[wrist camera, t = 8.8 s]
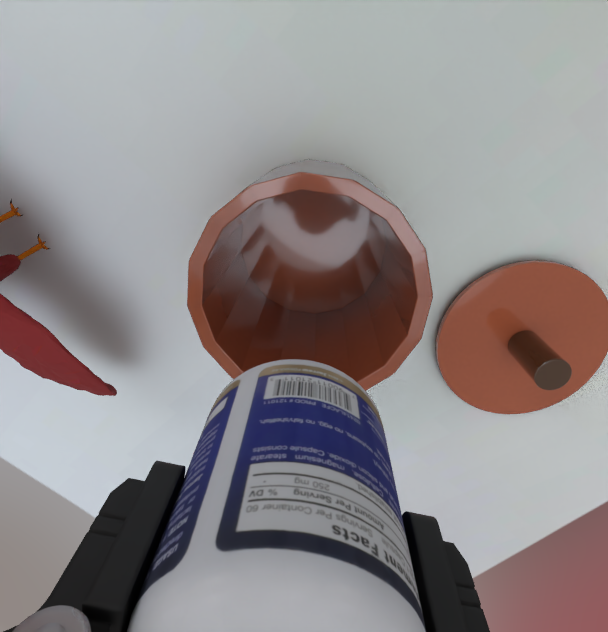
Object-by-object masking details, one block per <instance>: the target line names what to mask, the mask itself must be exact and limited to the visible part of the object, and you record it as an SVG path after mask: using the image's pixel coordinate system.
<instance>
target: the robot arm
mask: <svg viewBox="0 0 608 632" xmlns="http://www.w3.org/2000/svg"><path fill="white" fill-rule="evenodd" d="M184 476H185V466H181V465H176V464H171V463H166V462H161V461H156V462H155V463H154V465H153V466H152V468H151V470H150V472H149V474H148V476H147V478H146V480H145V481H141V480H136V479H131V478H128V479H127V480H126V481H125V482H123V483H122V484H121V485H120V486H118V487H117V488H116V489H115V490H113V491H112V492H111V493H110V495H109V496H108V498H107V500H106V502H105V503H104V505H103V507H102V508H101V510H100V512H99V515H98V516H97V517H96V518H95V521H94V522H93V524H92V525H91V527H90V530H89V532H88V533H87V534H86V535H85V537H84V539H83V541H82V542H81V544H80V545H79V547H78V549H77V551H76V552H75V554H74V556H73V557H72V559H71V561H70V562H69V564H68V566H67V568H66V569H65V571H64V573H63V574H62V576H61V578H60V579H59V581H58V583H57V584H56V586H55V588H54V590H53V591H52V593H51V595H50V596H49V597H48V599H47V601H46V602H45V603H44V604H43V605H42V606H41V608H40V609H39V610H38V611H37V612H35V613H34V614H32V615H31V616H29V617H28V618H26V619H25V620H24V621H23V622H21V623H20V624H19V625H17V626H15V627H13V628H11V629H9V630H6V631H4V632H127V629H128V626H129V622H130V617H131V614H132V611H133V609H134V606H135V604H136V601H137V599H138V596H139V593H140V590H141V588H142V585H143V583H144V580H145V577H146V575H147V572H148V570H149V567H150V565H151V562H152V560H153V557H154V555H155V552H156V549H157V547H158V544H159V542H160V539H161V536H162V533H163V531H164V529H165V526H166V524H167V521H168V519H169V516H170V514H171V511H172V509H173V506H174V503H175V501H176V498H177V496H178V493H179V491H180V488H181V486H182V483H183V481H184ZM402 520H403V525H404V529H405V534H406V539H407V544H408V548H409V553H410V557H411V562H412V567H413V572H414V577H415V582H416V586H417V590H418V595H419V600H420V604H421V609H422V613H423V618H424V623H425V629H426V632H490V631H489V628H488V625H487V621H486V618H485V615H484V612H483V609H481V607H480V605H481V603H480V600H479V597H478V594H477V591H476V590H475V589H474V586H475V585H474V582H473V579H472V576H471V573H470V570H469V567H468V564H467V562H466V561H465V559H464V558H463V557H462V555H461V554H460V552H459V551H458V549H457V548H456V546H455V545H454V543H450V542H445V541H443V539H442V535H441V532H440V529H439V525H438V522H437V520H436V519H435V518H434V517H431V516H426V515H421V514H416V513H412V512H407V511H406V512H404V513H403V515H402Z"/></svg>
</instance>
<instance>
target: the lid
mask: <svg viewBox="0 0 608 632" xmlns="http://www.w3.org/2000/svg"><path fill="white" fill-rule="evenodd" d="M607 351H608V300H607V298H606V296H605V295H604V293H603V291H602V290H601V288H600V287H599V286H598V285H597V284H596V283H595V282H594V281H593V280H592V279H590V278H589V277H588V276H587V275H585V274H583V273H582V272H580V271H578V270H576V269H574V268H572V267H570V266H567V265H564V264H561V263H557V262H552V261H542V260H534V261H523V262H517V263H512V264H509V265H505V266H502V267H500V268H497V269H495V270H492V271H490V272H489V273H487V274H485V275H483V276H481V277H480V278H478V279H477V280H475V281H474V282H473V283H471V284H470V285H469V286H468V287H466V288H465V289H464V290H463V291H462V292H461V293H460V294H459V295H458V296H457V297H456V299H455V300H454V301H453V302H452V304H451V305H450V307H449V308H448V310H447V311H446V313H445V315H444V317H443V319H442V321H441V324H440V327H439V330H438V334H437V339H436V357H437V362H438V366H439V369H440V371H441V374H442V376H443V378H444V380H445V381H446V383H447V385H448V386H449V387H450V389H451V390H452V391H453V392H454V393H455V394H456V395H457V396H458V397H459V398H461V399H462V400H463V401H465V402H467V403H468V404H470V405H472V406H474V407H476V408H479V409H482V410H485V411H488V412H493V413H500V414H520V413H528V412H532V411H537V410H540V409H543V408H546V407H549V406H551V405H554V404H556V403H558V402H560V401H562V400H564V399H565V398H567V397H569V396H570V395H572V394H573V393H574V392H576V391H577V390H579V389H580V388H581V387H582V386H583V385H584V384H585V383H586V382H587V381H588V380H589V379H590V378H591V377H592V376H593V375H594V374H595V372H596V371H597V369H598V368H599V367H600V365H601V363H602V362H603V360H604V358H605V356H606V354H607Z"/></svg>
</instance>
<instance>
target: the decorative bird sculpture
mask: <svg viewBox="0 0 608 632" xmlns="http://www.w3.org/2000/svg"><path fill="white" fill-rule="evenodd" d="M10 205H11V211H9V212H7V213H6V214H4V215H2V216H0V223H1V222H3V221H5V220H7V219H9V218H10V217H12V216H14V215H17V216H22V215H20V214H19V213H18V212H17V210H18V208H16V209H15V208H14V206H13V204H12V198H11V201H10ZM38 242H39V244H37V245H36V246H34V247H32V248H31V249H29V250H27V251H26V252H24V253H22V254H20V255H19V256H15V255H12V254H8V255H4V256H0V281H2V280H3V279H4V278H6V277H7V276H9V275H10V274H12V273H13V272H14V271H16V270H17V269H18V267H19V265H20V264H21V261H20V260H22V259H24V258H26V257H27V256H29V255H31V254H33V253H34V252H36V251H38V250H40V249H41V248H43V249H46V250H48V249H50V248H47V247H46V246H45V245H44V244H45V242H46V241H45V242H43V243H42V241H41V239H40V238H39V234H38ZM0 349H1V350H3V352H4V353H5V354H7V355H8V356H10V357H12V358H14V359H15V360H16V361H17V362H19V363H20V365H21V366H22V367H24V368H25V369H28V370H30V371H32V372H34V373H35V374H37V375H39V376H41V377H42V378H47V379H50V380H53V381H55V382H58V383H60V384H63V385H67V386H70V387H72V388H75V389H77V390H86V391H88V392H91V393H93V394H96V395H103V396H104V395H114V396H116V394H117V391H116V389H115V388H114V387H113V386H112V385H110V384H107V383H104V382H103V381H102V380H101V379H100V378H99V377H97V376H96V375H95V374H94V373H93V372H92V371H91V370H90V369H89V368H88V367H86V366H85V365H84V364H83V363H81V362H80V361H79V360H78V359H77V358H76V357H74V356H73V355H72V354H71V353H70V352H69V351H68V350H67V349H66V348H65V347H64V346H63V345H62V344H61V343H60V342H59V340H58V339H57V338H56V337H55V336H54V335H53V334H52V333H51V332H50V331H49V330H48V329H47V328H46V327H44V326H43V325H42V324H41V323H39V322H37V321H36V320H34V319H33V318H32V317H31V316H29V315H28V314H26V313H25V312H23V311H22V310H21V309H19V308H17V307H16V306H15V305H13V304H12V303H11V302H10V301H9V300H8V299H7V298H5V297H4V296H3V295H1V294H0Z"/></svg>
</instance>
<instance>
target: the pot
mask: <svg viewBox="0 0 608 632" xmlns="http://www.w3.org/2000/svg"><path fill="white" fill-rule="evenodd" d="M432 295H433V293H432V286H431V280H430V273H429V267H428V260H427V254H426V249H425V247H424V246H423V244H422V243H421V241H420V240H419V238H418V237H417V235H416V234H415V232H414V231H413V229H412V227H411V226H410V224H409V223H408V221H407V220H406V218H405V217H404V215H403V214H402V212H401V211H400V209H399V208H398V207H397V206H396V205H395V204H394V203H393V202H392V201H391V200H390V199H389V198H387V197H386V196H385V195H384V194H383V193H382V192H381V191H380V190H379V189H378V188H377V187H376V186H375V185H374V184H373V183H372V182H370V181H369V180H367V179H366V178H364V177H363V176H361V175H359V174H358V173H357V172H355V171H353V170H352V169H350V168H349V167H347V166H345V165H344V164H340V163H333V162H328V161H320V160H313V159H306V160H302V161H298V162H294V163H290V164H287V165H284V166H280V167H276V168H275V169H273V170H271V171H270V172H268V173H267V174H265V175H264V176H263V177H261V178H260V179H258V180H257V181H255V182H254V183H252V184H251V185H250V186H248V187H247V188H246V189H244V190H243V191H242V192H241V193H239V194H238V195H237V196H236V197H235V198H233V199H232V200H231V201H230V202H228V203H227V204H226V205H225V206H224V207H222V208H221V209H220V210H219V211H217V212H216V213H215V214H214V215H212V216H211V218H210V219H209V221H208V223H207V225H206V227H205V229H204V231H203V233H202V235H201V237H200V239H199V241H198V243H197V245H196V247H195V249H194V251H193V253H192V255H191V257H190V260H189V269H188V298H187V306H188V309H189V311H190V314H191V317H192V319H193V322H194V324H195V327H196V329H197V332H198V335H199V337H200V340H201V342H202V345H203V347H204V348H205V349H206V350H207V352H208V353H209V354H210V355H211V356H212V357H213V358H214V359H215V360H216V361H217V362H218V363H219V364H220V366H221V367H222V368H223V369H224V370H225V371H226V372H227V373H228V374H229V375H230V376H231V377H232V378H233V379H235V378H236V377H238V376H239V375H241V374H242V373H244V372H246V371H247V370H249V369H251V368H254V367H256V366H259V365H261V364H264V363H268V362H272V361H278V360H287V359H299V360H309V361H315V362H319V363H323V364H326V365H329V366H331V367H333V368H335V369H337V370H339V371H341V372H343V373H345V374H346V375H348V376H349V377H351V378H352V379H353V380H355V381H356V382H357V383H358V384H359V385H360V386H361V387H362V388H363V389H364V390H365V391H366V390H367V389H369V388H371V387H373V386H374V385H376V384H378V383H379V382H381V381H383V380H384V379H386V378H388V377H389V376H391V375H393V373H395V372H396V370H397V369H398V368H399V367H400V365H401V364H402V363H403V361H404V360H405V359H406V358H407V356H408V355H409V354H410V353H411V351H412V350H413V349H414V347H415V346H416V345H417V344H418V342H419V341H420V339H421V338H422V334H423V331H424V327H425V323H426V320H427V316H428V313H429V309H430V305H431V302H432V298H433V296H432Z"/></svg>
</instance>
